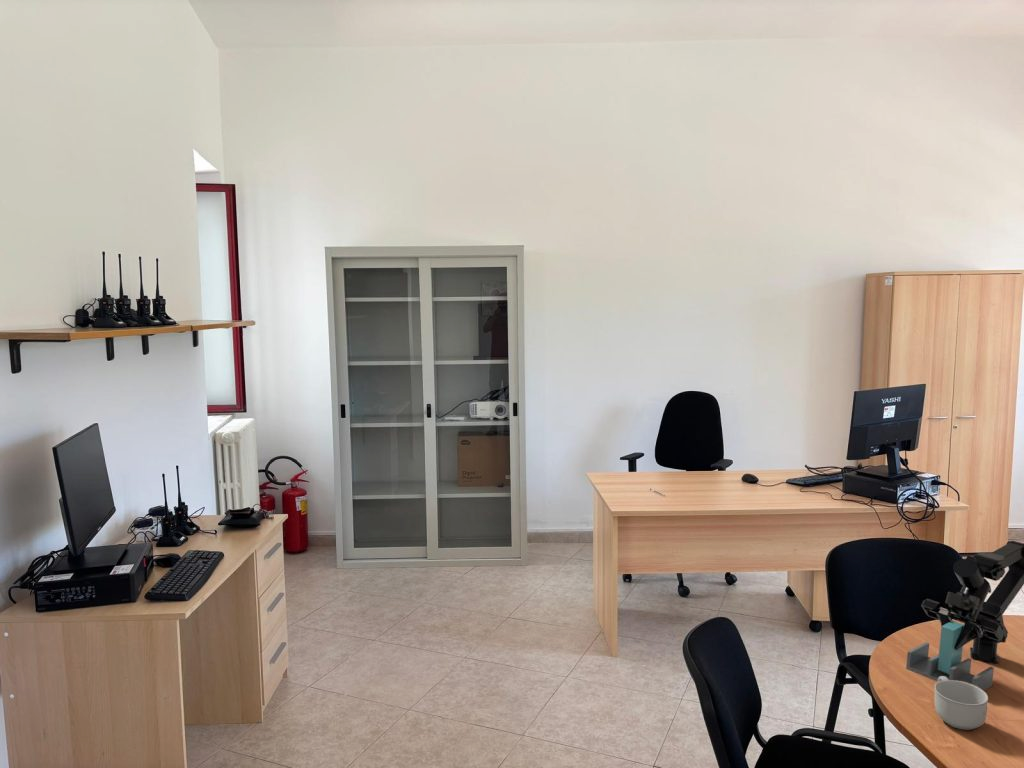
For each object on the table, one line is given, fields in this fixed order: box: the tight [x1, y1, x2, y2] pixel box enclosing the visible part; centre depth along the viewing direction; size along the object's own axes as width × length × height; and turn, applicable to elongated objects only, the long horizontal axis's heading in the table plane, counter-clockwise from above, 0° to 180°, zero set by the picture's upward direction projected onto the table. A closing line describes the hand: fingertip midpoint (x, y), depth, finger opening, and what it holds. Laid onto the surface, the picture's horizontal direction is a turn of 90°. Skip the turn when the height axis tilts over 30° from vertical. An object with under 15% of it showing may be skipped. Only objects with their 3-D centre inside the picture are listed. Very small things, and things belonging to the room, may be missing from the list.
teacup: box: [933, 676, 989, 731], centre depth 175 cm, size 14×11×8 cm
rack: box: [905, 641, 995, 692], centre depth 195 cm, size 10×17×5 cm, turn 35°
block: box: [938, 620, 964, 674], centre depth 195 cm, size 6×3×12 cm, turn 125°
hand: (948, 646), depth 194 cm, fingers closed on block, 3 cm apart
